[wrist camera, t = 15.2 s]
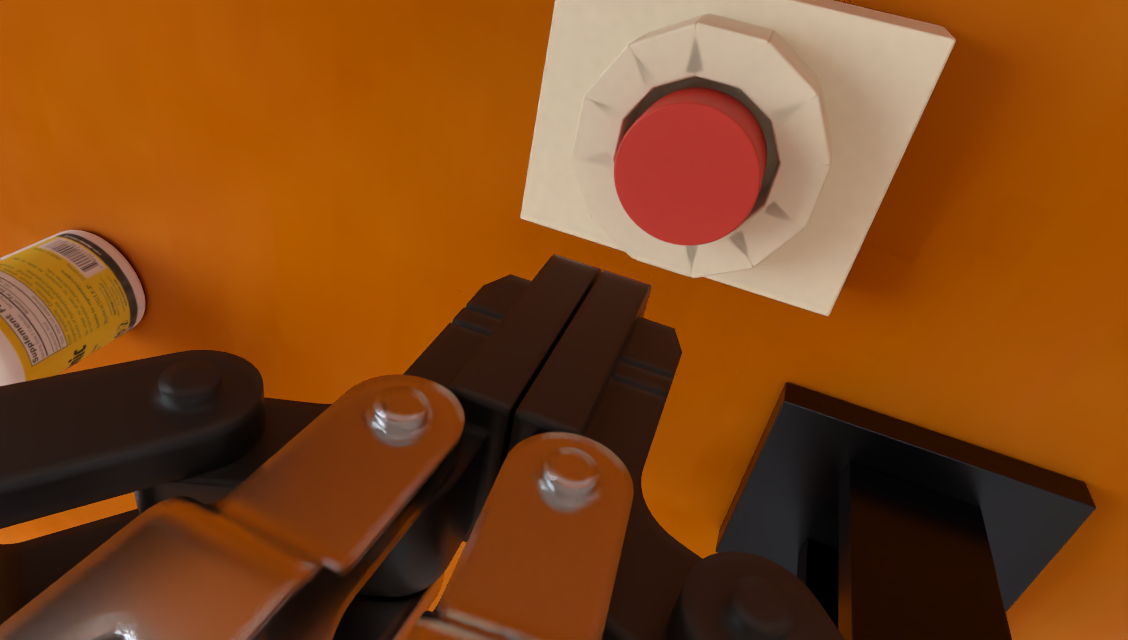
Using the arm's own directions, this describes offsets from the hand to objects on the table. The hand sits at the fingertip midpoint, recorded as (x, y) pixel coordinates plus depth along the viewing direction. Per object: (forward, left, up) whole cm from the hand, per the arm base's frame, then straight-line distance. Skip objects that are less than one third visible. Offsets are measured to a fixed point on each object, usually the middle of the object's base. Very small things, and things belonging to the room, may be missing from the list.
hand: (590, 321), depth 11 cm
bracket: (+10, -12, -13) cm, 21 cm away
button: (0, 0, -10) cm, 10 cm away
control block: (0, 0, -13) cm, 13 cm away
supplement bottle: (-26, -15, -13) cm, 33 cm away
